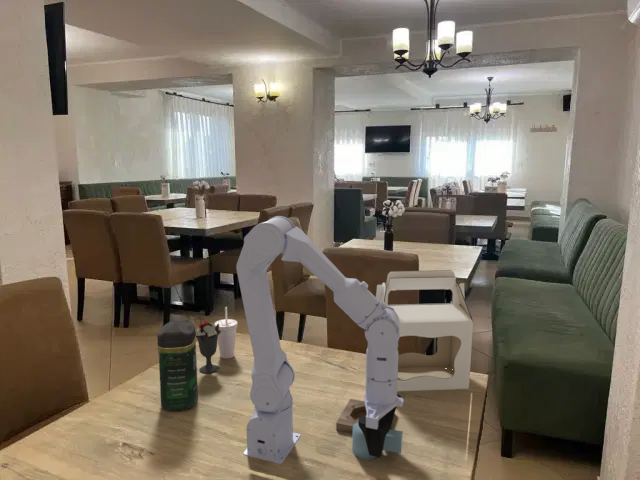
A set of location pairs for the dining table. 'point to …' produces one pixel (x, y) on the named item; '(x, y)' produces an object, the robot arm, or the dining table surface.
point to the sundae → (208, 344)
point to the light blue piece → (360, 447)
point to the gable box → (432, 331)
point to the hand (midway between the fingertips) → (379, 442)
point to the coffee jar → (177, 365)
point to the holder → (351, 415)
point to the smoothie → (226, 336)
